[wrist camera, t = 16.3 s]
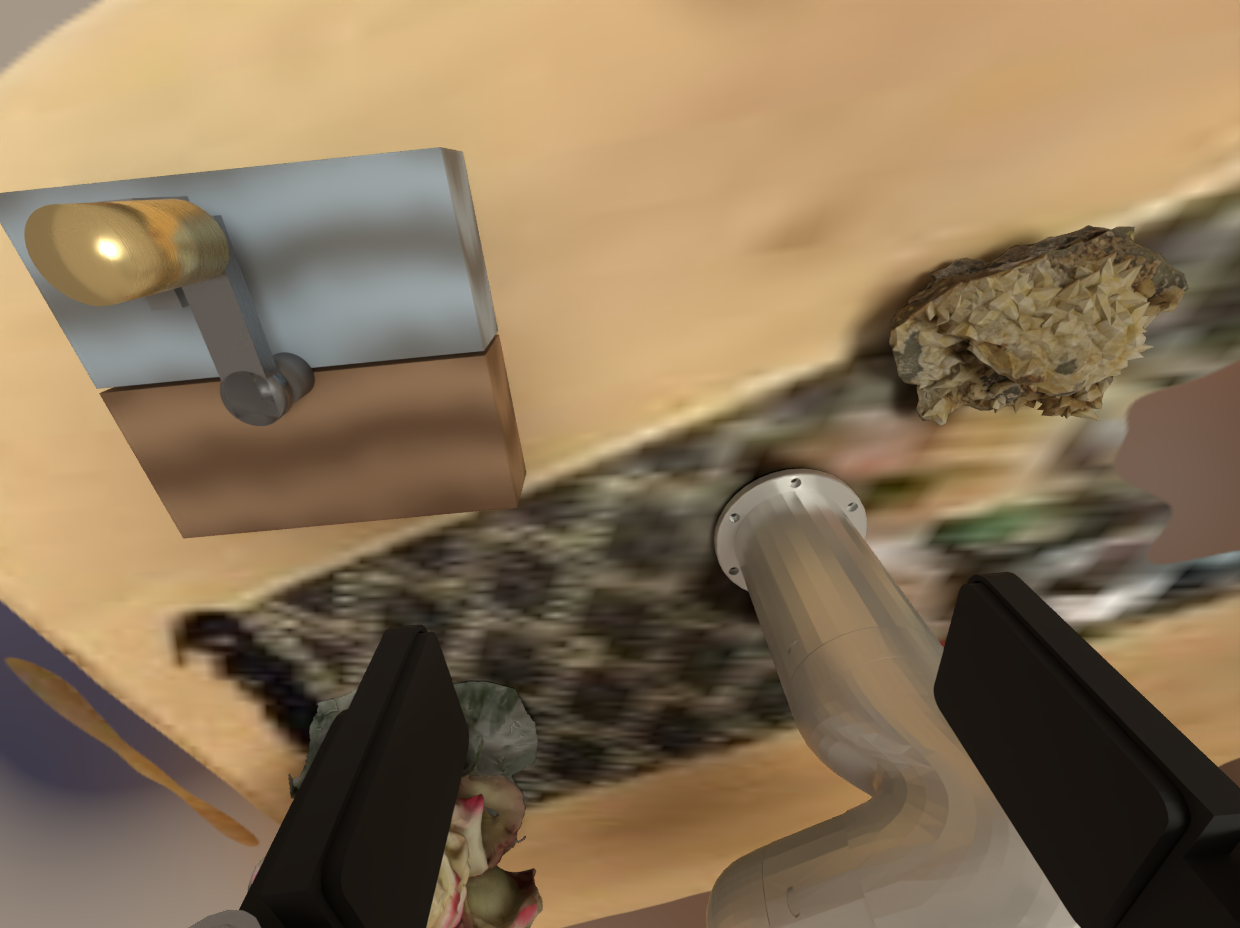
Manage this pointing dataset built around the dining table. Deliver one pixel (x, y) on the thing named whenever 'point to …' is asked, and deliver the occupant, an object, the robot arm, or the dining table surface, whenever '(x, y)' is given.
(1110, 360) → the mineral specimen
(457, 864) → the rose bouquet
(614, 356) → the dining table surface
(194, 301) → the switch lever
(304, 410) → the lever switch panel
